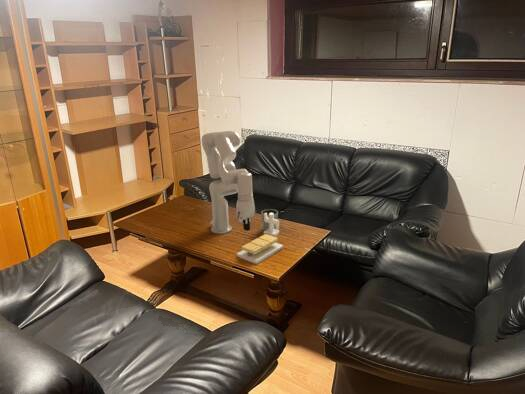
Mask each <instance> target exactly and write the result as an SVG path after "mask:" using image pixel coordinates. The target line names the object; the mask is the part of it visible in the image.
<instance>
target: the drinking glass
mask: <svg viewBox="0 0 525 394" xmlns="http://www.w3.org/2000/svg"><path fill="white" fill-rule="evenodd" d="M264 213H267V217H268V218H269V213H274V219H276V220H279V219H278V218H279V217H278V216H279V211H278V210H276V209H272V208H268V209H264V210H263V209H262V210H261V213H260V214H261V218H262V230H263V232H265V231H266V230H267V229H268V228H269V223H267V222H265V221H264ZM274 229H276V224H274Z"/></svg>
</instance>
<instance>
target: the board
mask: <svg viewBox="0 0 525 394" xmlns="http://www.w3.org/2000/svg"><path fill="white" fill-rule="evenodd" d="M284 246H285V245H284V244H281V243H278V242H276V243H274V244H272V245H270V246H269V247H267V248H265V249H262V251H260V252H258V253H257V254H255V255H254V254H252V253H249V252H247V251H244V250H242V249H241V251H239V252H236V257H238V258H240V259H243V260H246V261H248V262H250V263H253V264H255V265H258V264H260V263H262V262H263V261H264V260H266V259H268V258H269V257H271V256H272V255H274V254H276V253H278V252H279V251H281V250H282V249H284V248H285V247H284Z"/></svg>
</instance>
